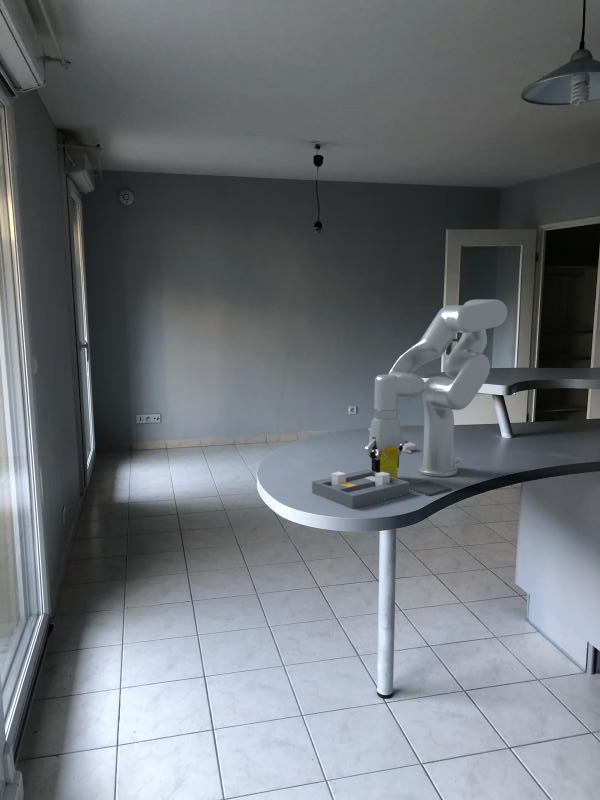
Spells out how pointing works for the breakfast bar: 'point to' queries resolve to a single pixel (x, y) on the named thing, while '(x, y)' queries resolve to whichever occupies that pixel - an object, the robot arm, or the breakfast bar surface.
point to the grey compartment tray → (359, 489)
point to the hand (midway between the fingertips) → (385, 468)
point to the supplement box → (389, 461)
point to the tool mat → (428, 488)
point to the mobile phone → (407, 446)
